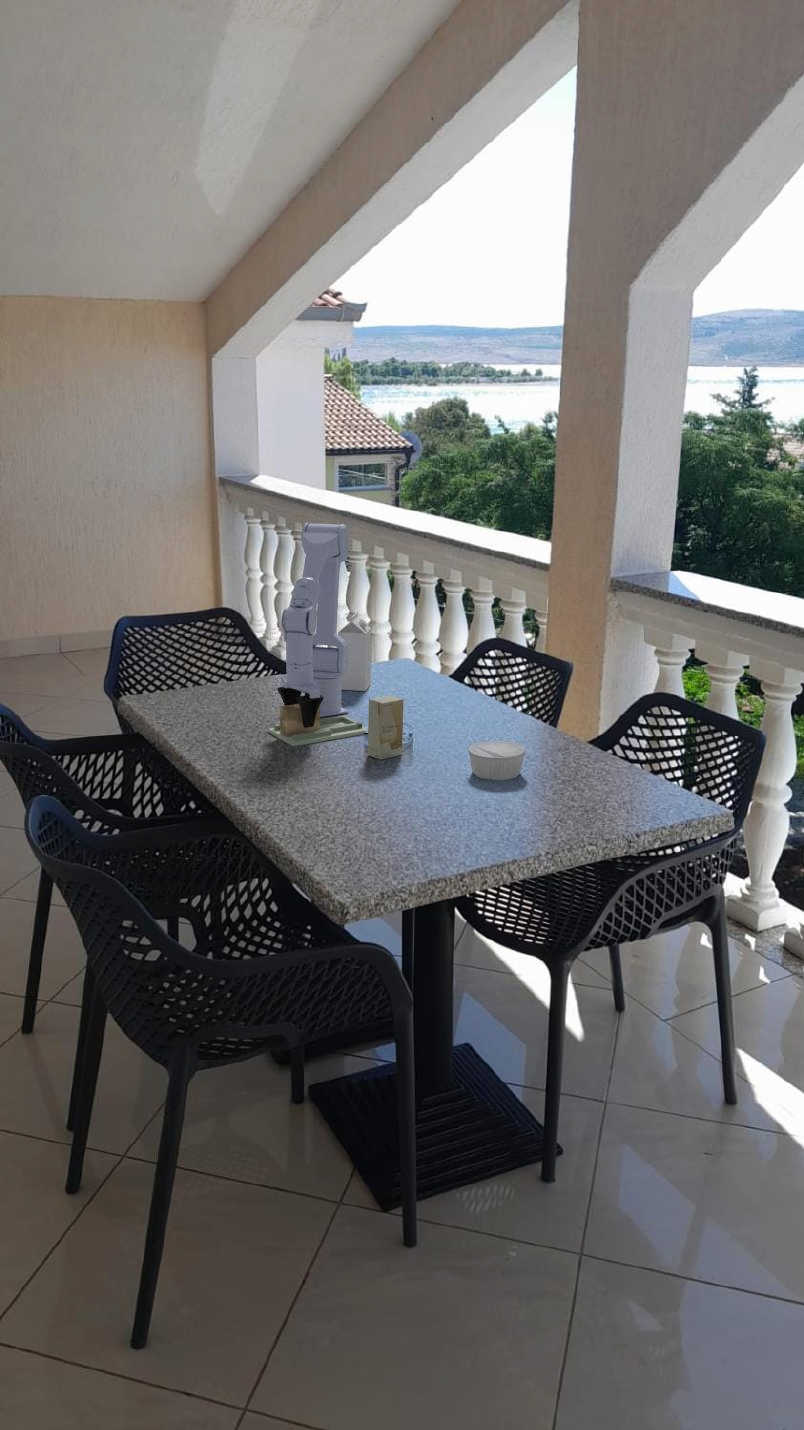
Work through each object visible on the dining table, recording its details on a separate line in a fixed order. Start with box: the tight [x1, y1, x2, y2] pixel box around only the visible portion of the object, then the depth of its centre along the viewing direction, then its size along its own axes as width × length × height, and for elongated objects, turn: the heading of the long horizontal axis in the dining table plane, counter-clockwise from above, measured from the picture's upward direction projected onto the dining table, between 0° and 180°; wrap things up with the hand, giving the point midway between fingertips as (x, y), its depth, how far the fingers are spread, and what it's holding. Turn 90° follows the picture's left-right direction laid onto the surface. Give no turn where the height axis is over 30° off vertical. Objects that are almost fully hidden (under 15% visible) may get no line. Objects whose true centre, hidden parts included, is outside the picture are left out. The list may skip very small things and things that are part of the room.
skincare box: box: [367, 694, 404, 761], centre depth 230 cm, size 6×4×12 cm
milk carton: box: [337, 611, 372, 692], centre depth 282 cm, size 7×7×19 cm
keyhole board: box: [267, 714, 368, 747], centre depth 246 cm, size 12×19×2 cm, turn 122°
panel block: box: [279, 704, 321, 737], centre depth 243 cm, size 4×8×6 cm, turn 122°
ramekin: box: [468, 740, 526, 782], centre depth 221 cm, size 11×11×5 cm
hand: (300, 722), depth 243 cm, fingers open, 7 cm apart
